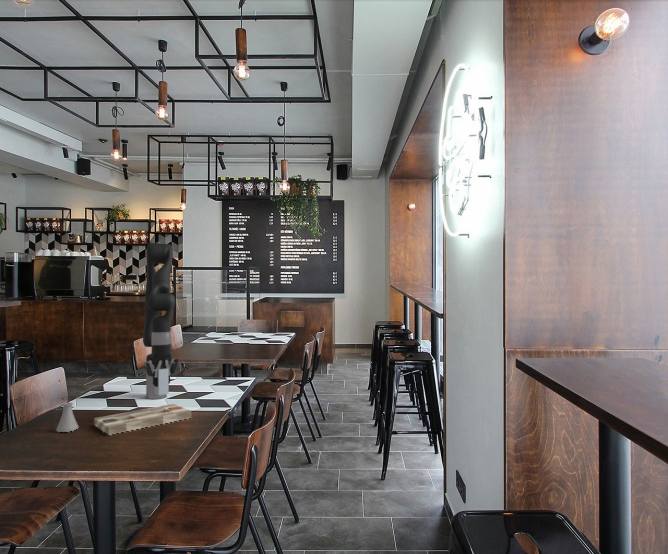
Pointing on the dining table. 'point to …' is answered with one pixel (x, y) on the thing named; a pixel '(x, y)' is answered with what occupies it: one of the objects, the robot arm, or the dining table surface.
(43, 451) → the dining table surface
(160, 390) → the plug
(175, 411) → the socket block
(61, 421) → the flask
